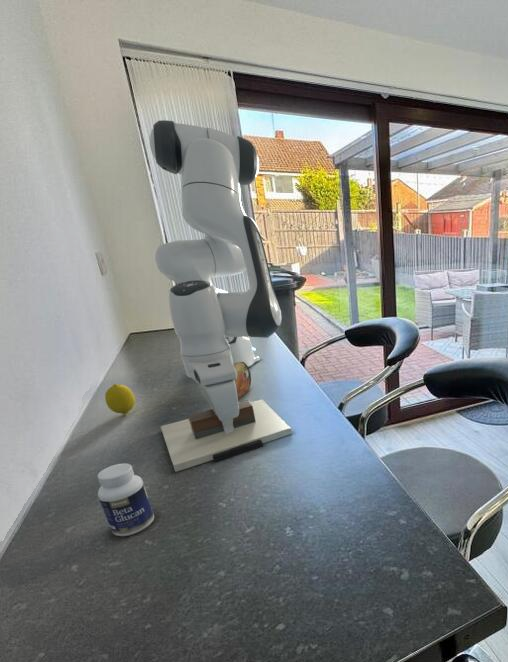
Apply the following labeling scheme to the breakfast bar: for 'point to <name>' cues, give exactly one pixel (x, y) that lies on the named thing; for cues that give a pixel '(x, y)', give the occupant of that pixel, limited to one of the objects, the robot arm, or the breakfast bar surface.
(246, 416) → the eraser
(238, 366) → the tin
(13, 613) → the breakfast bar surface
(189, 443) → the memo board
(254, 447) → the stroke
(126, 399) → the lemon
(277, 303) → the robot arm
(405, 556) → the breakfast bar surface
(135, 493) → the pill bottle
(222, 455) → the stroke
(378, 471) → the breakfast bar surface
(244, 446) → the stroke
